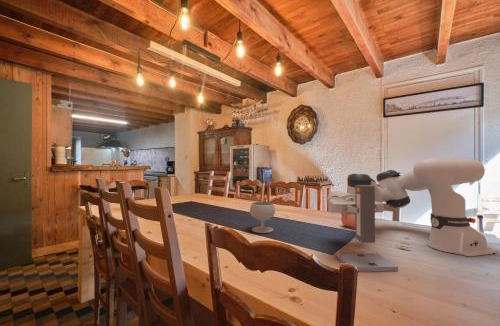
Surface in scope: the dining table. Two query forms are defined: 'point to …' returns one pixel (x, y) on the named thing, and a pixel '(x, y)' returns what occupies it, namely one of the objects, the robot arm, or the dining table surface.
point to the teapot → (349, 220)
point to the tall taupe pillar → (365, 213)
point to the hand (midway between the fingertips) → (365, 210)
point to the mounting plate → (367, 262)
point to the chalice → (262, 215)
